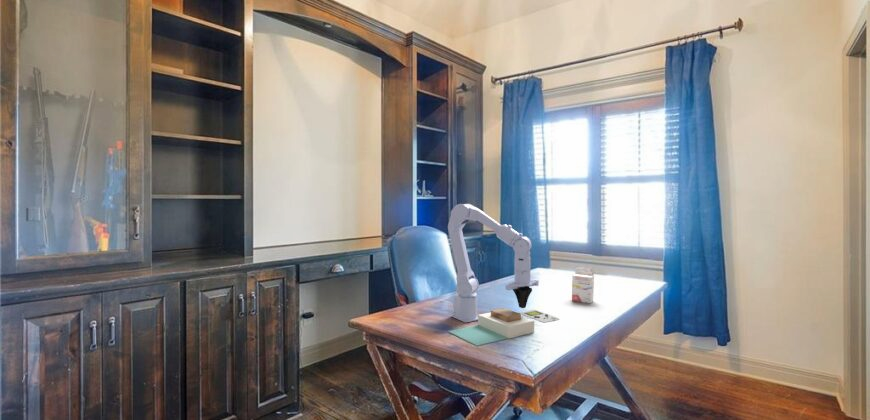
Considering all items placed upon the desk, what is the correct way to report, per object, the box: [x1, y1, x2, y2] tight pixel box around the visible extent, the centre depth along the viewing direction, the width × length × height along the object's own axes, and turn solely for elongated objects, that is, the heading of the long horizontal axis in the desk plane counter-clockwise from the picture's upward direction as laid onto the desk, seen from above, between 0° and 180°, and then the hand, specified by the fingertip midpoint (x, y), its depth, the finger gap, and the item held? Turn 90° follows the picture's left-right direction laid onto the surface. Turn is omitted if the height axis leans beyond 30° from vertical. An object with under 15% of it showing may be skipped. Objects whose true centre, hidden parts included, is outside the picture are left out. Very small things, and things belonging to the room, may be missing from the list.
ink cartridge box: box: [571, 266, 595, 304], centre depth 185 cm, size 9×5×15 cm, turn 58°
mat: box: [448, 324, 508, 347], centre depth 139 cm, size 16×13×1 cm
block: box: [490, 307, 522, 322], centre depth 146 cm, size 9×6×2 cm, turn 32°
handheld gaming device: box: [518, 309, 560, 323], centre depth 162 cm, size 9×1×15 cm
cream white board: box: [477, 311, 535, 340], centre depth 146 cm, size 16×12×4 cm
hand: (522, 307), depth 150 cm, fingers closed
